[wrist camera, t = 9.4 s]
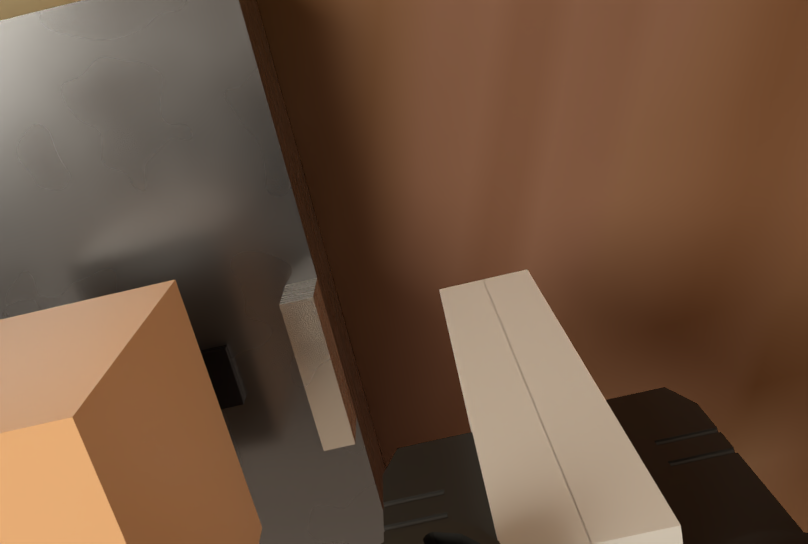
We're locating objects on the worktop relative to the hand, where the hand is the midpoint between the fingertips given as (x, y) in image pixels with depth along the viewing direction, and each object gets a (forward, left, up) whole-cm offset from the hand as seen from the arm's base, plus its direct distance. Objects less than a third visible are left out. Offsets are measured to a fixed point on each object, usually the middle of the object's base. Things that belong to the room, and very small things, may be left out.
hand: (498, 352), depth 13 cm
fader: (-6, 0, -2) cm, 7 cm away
